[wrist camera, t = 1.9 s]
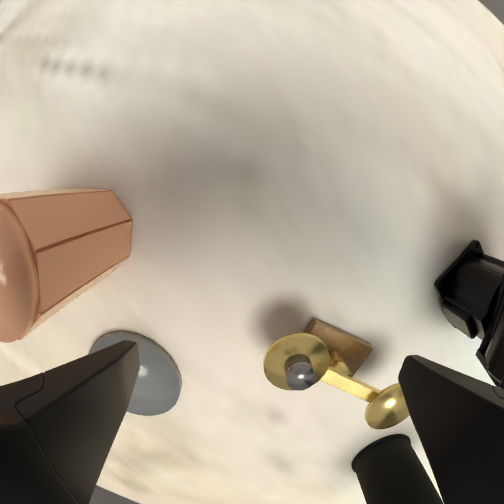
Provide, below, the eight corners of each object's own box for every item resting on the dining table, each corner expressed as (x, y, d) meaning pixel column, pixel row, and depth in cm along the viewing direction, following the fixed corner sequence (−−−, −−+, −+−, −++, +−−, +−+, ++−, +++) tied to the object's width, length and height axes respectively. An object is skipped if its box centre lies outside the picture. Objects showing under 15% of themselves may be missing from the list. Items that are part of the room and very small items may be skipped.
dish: (127, 311, 22) (122, 316, 21) (202, 384, 23) (200, 390, 22) (76, 360, 23) (72, 365, 22) (142, 420, 24) (140, 426, 23)
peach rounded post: (63, 186, 19) (-50, 196, 8) (135, 192, 20) (26, 203, 8) (61, 266, 21) (-38, 320, 9) (128, 280, 21) (40, 360, 9)
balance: (395, 352, 23) (428, 392, 17) (368, 387, 24) (393, 432, 18) (277, 298, 22) (290, 340, 15) (250, 343, 22) (252, 394, 16)
